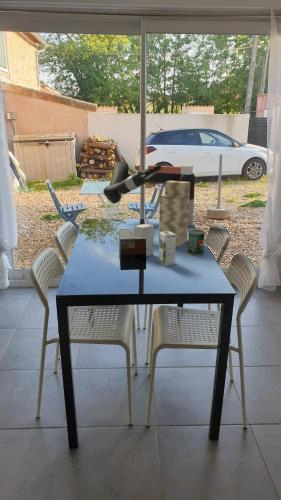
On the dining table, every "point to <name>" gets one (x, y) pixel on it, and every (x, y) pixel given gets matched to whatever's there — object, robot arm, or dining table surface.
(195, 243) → the canned tomato
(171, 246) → the syrup box
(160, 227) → the stand
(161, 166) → the block
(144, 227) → the skincare box
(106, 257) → the dining table surface
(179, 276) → the dining table surface
